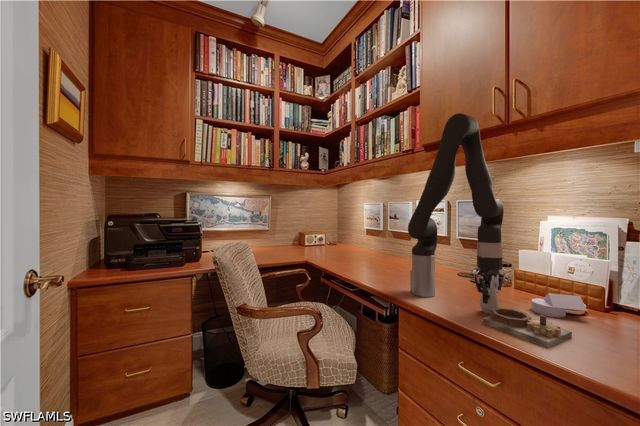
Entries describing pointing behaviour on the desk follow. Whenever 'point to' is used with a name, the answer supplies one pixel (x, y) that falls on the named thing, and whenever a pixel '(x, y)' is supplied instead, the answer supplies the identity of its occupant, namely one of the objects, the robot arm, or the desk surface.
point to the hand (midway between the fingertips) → (489, 303)
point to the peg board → (527, 326)
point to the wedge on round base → (557, 304)
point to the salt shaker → (490, 300)
